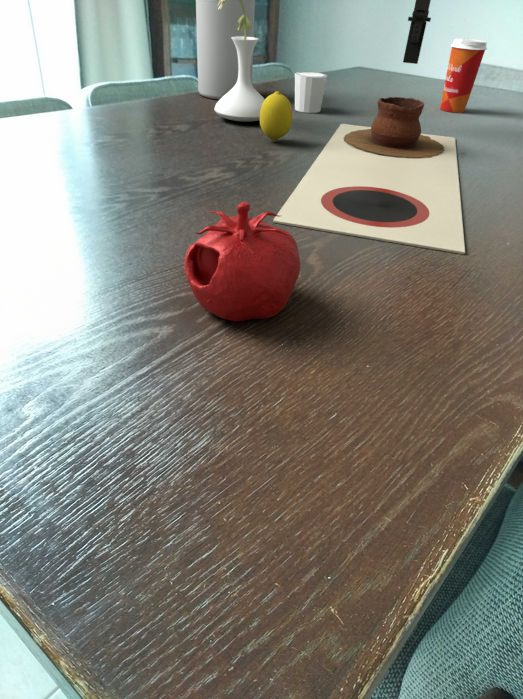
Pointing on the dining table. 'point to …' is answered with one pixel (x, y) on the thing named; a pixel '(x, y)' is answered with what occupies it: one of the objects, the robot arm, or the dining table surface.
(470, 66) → the paper cup
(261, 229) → the red tomato
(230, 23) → the cylinder vase
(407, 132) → the ceramic pot
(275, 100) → the lemon
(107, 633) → the dining table surface
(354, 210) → the front burner
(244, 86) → the flower in vase
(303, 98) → the shot glass
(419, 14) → the robot arm
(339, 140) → the cooktop
